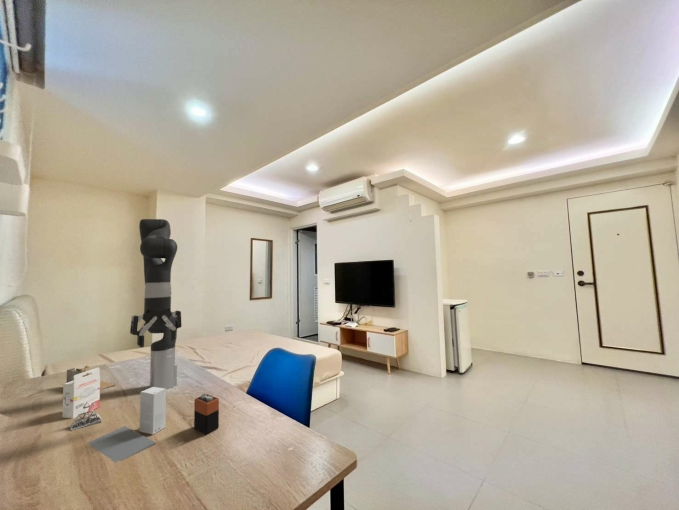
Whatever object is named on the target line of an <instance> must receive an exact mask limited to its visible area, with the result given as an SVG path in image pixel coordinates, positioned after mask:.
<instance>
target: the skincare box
mask: <svg viewBox="0 0 679 510" xmlns="http://www.w3.org/2000/svg"><path fill="white" fill-rule="evenodd" d="M139 395H140V396H139V397H140V399H139V401H140V402H139V426H138V427H139V430H138V431H139V432H140V433H143V434H148V435H155V434H157V433H158V432H160V431H162V430H163V429H165V428H166V415H167V414H166V413H167V412H166V409H167V408H166V407H167V406H166V404H167V403H166V401H167V390H166V389H165V388H158V387H151V388H150V387H149V388H146V389H145V390H142V391H140V394H139Z"/></svg>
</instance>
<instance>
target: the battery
mask: <svg viewBox="0 0 679 510" xmlns="http://www.w3.org/2000/svg"><path fill="white" fill-rule="evenodd" d="M193 405H194V410H193V411H194V412H193V413H194V414H193V415H194V416H193V417H194V419H193V420H194V421H193V426H194V427H193V428H194V429H195V430H196V431H198V432H200V433H202V434H204V435H209V434H210V433H212V432H214V431H215V430H218V429H219V427H220V426H219V425H220V424H219V423H220V420H219V419H220V412H219V411H220V410H219V409H220V406H219V405H220V399H219V398H218V397H217V396H214V395H213V394H212V395H210V394H208V393H202V394H200V396H199V397H196V398H194V404H193Z"/></svg>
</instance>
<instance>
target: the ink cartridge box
mask: <svg viewBox="0 0 679 510" xmlns="http://www.w3.org/2000/svg"><path fill="white" fill-rule="evenodd" d="M87 373H88V374H89V375H88V376H85V377H83V376H84V375H86V374H87ZM100 373H101V372H100V367H95V368H92V369H89V370H86V371H85V372H82V373H80V374H76V375H74V381H71V382H68V383H62V384H63V388H62V415H61V417H62V418H64V419H65V418H67V419H72V420H74V419H76V417H77V416H78V414H81V413H85V412H89V407H88V408H85V409H83V407H84V405H85V404H86V402H88V404H89V405H90V406H91V407H90V411H92V410H94V411H95V410H97V409H98V408H100V405H101V404H100V403H101V401H100V399H101V390H100V381H101V374H100ZM88 404H86V405H85V407H87V406H89V405H88ZM78 417H79V416H78Z"/></svg>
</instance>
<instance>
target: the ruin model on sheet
mask: <svg viewBox="0 0 679 510" xmlns="http://www.w3.org/2000/svg"><path fill="white" fill-rule="evenodd" d="M89 368H90V365H89V366H88V364H86V365H85V366H84V369H81V368H76V367H73V368H70V369H66V383H68V382H71V381H74V375H76V374H80V373H82V372H85V371H87V370H88V369H89ZM88 375H90V373H89V374H88V373H87V374H86V375H84V376H83V377H85V376H88ZM63 384H64V383H62V384H60V385H63ZM115 385H116V383H111V382H107V381H102V380H100V391H101V390H103V389H107V388H110V387H112V386H115Z"/></svg>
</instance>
